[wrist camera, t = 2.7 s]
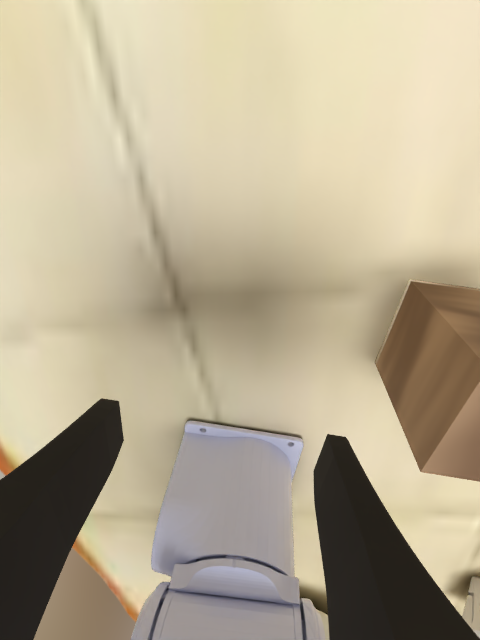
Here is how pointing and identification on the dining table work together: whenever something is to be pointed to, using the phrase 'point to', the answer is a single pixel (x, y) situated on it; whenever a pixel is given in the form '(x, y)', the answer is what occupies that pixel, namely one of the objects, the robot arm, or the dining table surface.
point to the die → (473, 606)
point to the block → (436, 376)
